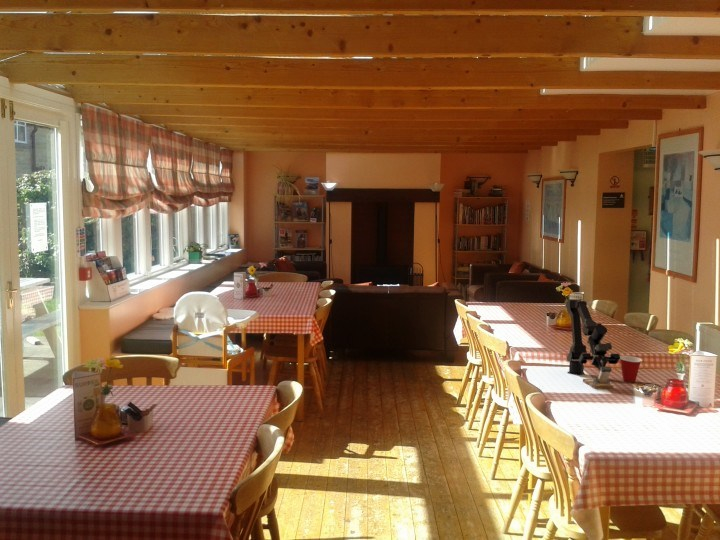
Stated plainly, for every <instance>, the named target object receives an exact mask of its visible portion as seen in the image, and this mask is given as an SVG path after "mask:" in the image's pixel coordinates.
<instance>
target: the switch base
mask: <svg viewBox="0 0 720 540" xmlns="http://www.w3.org/2000/svg"><path fill="white" fill-rule="evenodd" d="M582 383H584V384H586V385H587V386H589V387H591V388H592V389H595V390H598V389H599V390H614V385H612V384H611V379H610V378H608V379H607V382H606V384H598V377H597V378H596V377H593V378H582Z"/></svg>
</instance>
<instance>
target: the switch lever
mask: <svg viewBox="0 0 720 540" xmlns="http://www.w3.org/2000/svg"><path fill="white" fill-rule="evenodd" d="M612 371H613V369H612V367H611V366H606V367H603V366H601V368H600V371H599V374H598V376H597V379H598V384H606V382H607V379H609V377H610V373H612Z"/></svg>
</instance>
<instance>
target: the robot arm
mask: <svg viewBox="0 0 720 540" xmlns="http://www.w3.org/2000/svg"><path fill="white" fill-rule="evenodd" d="M565 307H566V311H567V313H568V314H569V315H570V322H571V325H570V326H571V336H572V337H571V339H572V344H571V345H570V347H569V352H568V354H567V356H566V361H567V362H568V363H569V368H568V371H567V374H571V373H572V374H573V375H576V374H577V376H578V375H583V374H582V373H584V374H585V372H584V370H585V369H584V368H585V366H584V365H585V364H587V363H588V361H591V366H594V367H595V368H596V369H597V370H598V371H599V372H600V368H601V366H603V367H607V364H610V365H616V364H617V365H618V363H619V361H620V356H621V354H620V353H618V352H617V353H616V352H615V353H610V354H609V355H607V352H608V351H611V350H612V348H613V345H612V343H611V342H607V343H602V340H604V338H605V336H606V334H607V333H608V328H607V327H606V326H604V325H602V323H599V322H596V321H595V320H593V318H592V316H591V313H590V311H589V308H588V303H587V301H585V300H582V299H580V298H579V299H575V298H574V299H573V298H571V299H570V298H569V299H567V301H565ZM581 321H582V323H581ZM582 333H583V336H585V337H586V336H587V337H588V338H587V341H586V343H587V344H588V345H589V349H590V350H589V352H588V351H587V346H586V344H585V343H583V339H582V338H583V337H582Z"/></svg>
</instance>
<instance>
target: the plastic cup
mask: <svg viewBox="0 0 720 540" xmlns="http://www.w3.org/2000/svg"><path fill="white" fill-rule="evenodd" d="M619 361H620V367H621V374H622V381H623V380H624V381H623V382H625V381H626V383H636V380H637V376H638V373H639V369H640V366H641V363H642V362H643V359H642V358H640V357H636V356H630V355H620V359H619Z"/></svg>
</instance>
